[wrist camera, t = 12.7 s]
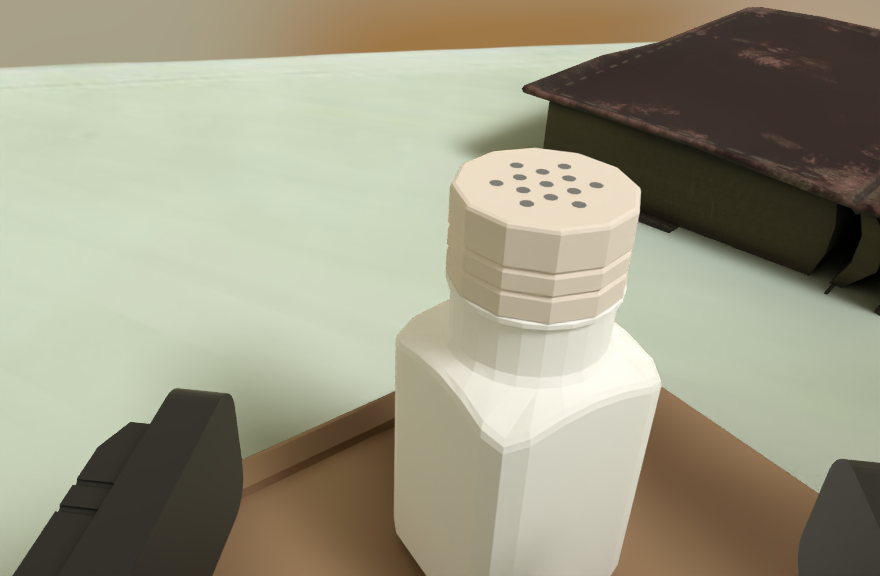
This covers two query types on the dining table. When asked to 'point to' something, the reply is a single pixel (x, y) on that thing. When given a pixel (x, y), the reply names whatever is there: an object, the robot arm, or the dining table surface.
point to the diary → (740, 133)
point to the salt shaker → (525, 376)
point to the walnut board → (648, 530)
